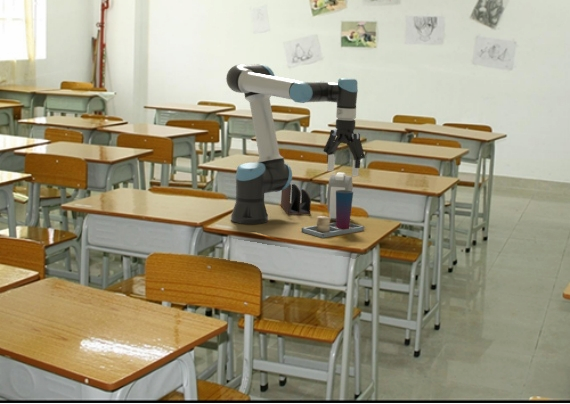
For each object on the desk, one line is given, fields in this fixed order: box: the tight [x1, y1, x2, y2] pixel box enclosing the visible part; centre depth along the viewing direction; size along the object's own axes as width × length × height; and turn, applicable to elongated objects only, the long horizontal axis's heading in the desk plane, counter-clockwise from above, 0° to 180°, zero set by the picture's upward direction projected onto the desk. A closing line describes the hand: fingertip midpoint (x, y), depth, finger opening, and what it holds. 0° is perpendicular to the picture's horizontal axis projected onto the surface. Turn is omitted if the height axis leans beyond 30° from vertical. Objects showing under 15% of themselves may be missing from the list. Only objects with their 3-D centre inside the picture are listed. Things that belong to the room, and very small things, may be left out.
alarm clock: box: [326, 171, 354, 222], centre depth 334 cm, size 18×8×20 cm, turn 168°
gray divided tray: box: [301, 221, 365, 239], centre depth 311 cm, size 12×22×2 cm, turn 131°
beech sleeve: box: [316, 215, 331, 233], centre depth 307 cm, size 5×5×6 cm
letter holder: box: [280, 183, 312, 216], centre depth 352 cm, size 10×20×14 cm, turn 9°
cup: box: [335, 190, 354, 230], centre depth 313 cm, size 7×7×15 cm
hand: (342, 173), depth 311 cm, fingers open, 13 cm apart
